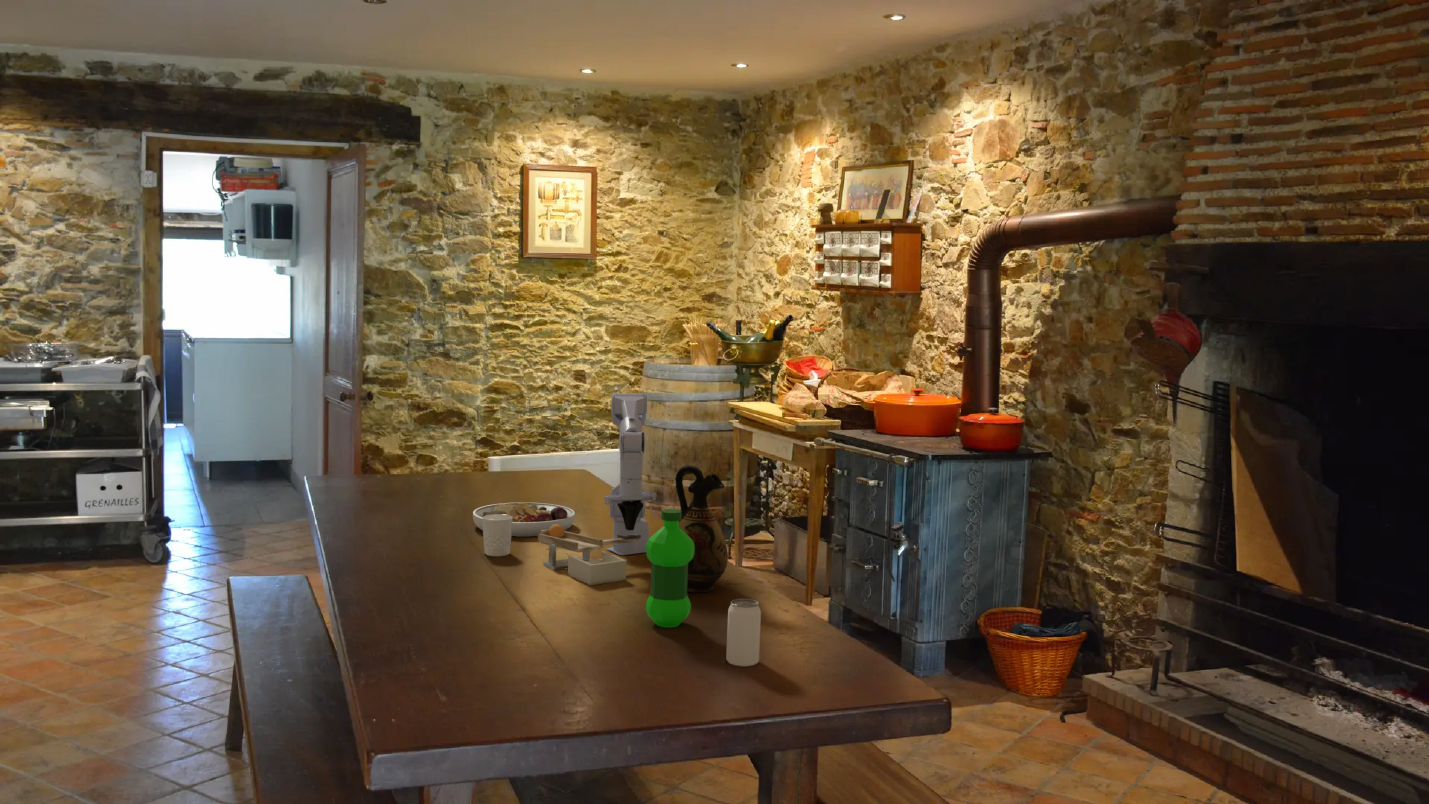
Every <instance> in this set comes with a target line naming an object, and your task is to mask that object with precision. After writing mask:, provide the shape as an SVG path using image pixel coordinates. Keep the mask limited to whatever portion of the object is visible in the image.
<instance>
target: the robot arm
mask: <svg viewBox="0 0 1429 804" xmlns="http://www.w3.org/2000/svg"><path fill="white" fill-rule="evenodd" d="M610 404H611V406H610V407H611V410H610V413H611V421H612V425H614V426H616V427H618V430H619V441H618V443H619V445H618V446H619V447H618V450H619V463H620V464H619V466H620V467H619V484H617V485H616V486H614V487H613V488H612V489H611V490H610V492H609V495H605V496H604V501H603V503H604V504H605V505H608V506H609V507H608V509H609V510H608V515H609V518H611V519H613V530H612V531H613V534H612V535H613V536H612V539H617V535H618V534H627V533H634V534H639V535H641V538H639V541H636V542H628V543H620V544H612V547H607V548H606V550H607V551H610V552H612V553H615V554H617V555H619V556H628V555H635V554H643V553H646V544H647V542H648V539H649V538H650V527H649V526H650V525H649V523H648V521H647V520H646V519H645V516H646V501H656V500H657V493H656V492H654V491H648V492H646V491H645V490H644V489H643V466H644V464H643V463H644V461H643V460H644V458H643V457H644V455H645V451H646V434H645V431H643V425H645V422H646V418H647V414H648V413H647V412H648V395H647V394H646V393H645V392H643V393H628V392H626V393H625V392H613V393H612V394H611V403H610Z"/></svg>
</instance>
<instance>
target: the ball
mask: <svg viewBox="0 0 1429 804" xmlns="http://www.w3.org/2000/svg"><path fill="white" fill-rule="evenodd" d="M549 535H550V536H552V537H556V538H562V536H563V535H564V529H563V527H562V526H561V525H558V524H555V525H552V526H551V527H550V529H549Z"/></svg>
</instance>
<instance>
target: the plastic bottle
mask: <svg viewBox="0 0 1429 804" xmlns="http://www.w3.org/2000/svg"><path fill="white" fill-rule="evenodd" d="M680 510H681V509H680ZM680 510H679V509H675V508H674V509H673V508H672V509H671V508H669V509H668V508H667V509H662V510H661V513H660V515H661V520H662V521H663V526H662V527H660V529H659V530H657V531H656V532H655V533H653V534H652V536H649V539H648V542H647V544H646V552H645V553H646V558H647V559H648V560H649V561H650V562H651V565H650V566H651V567H650V592H649V593H650V594H649V596H648V598H647V600H646V602H645V611H646V615H647V616H648V617H649V618H650V619H651V620H652V621H653V622H654V623H655V625H657V627H661V628H676V627H679V626H680V624H681V623H683V622H684V621H685V620H686V618H688V616H689V615H690V613H691V610H692V603H691V600H690V599H689V596H688V591H687V580H688V563H689V562H690V561H691V559H692V558H693V556H694V551H695V546H694V543H693V540H692V539H691V538H690V537H689V536H688V535H687V534H686V533H685V532H684V531H683V530H682V529H680V528H679V527H678V526H679V521H680V520H681V512H682V511H680Z"/></svg>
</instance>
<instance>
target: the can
mask: <svg viewBox="0 0 1429 804" xmlns="http://www.w3.org/2000/svg"><path fill="white" fill-rule="evenodd" d="M759 605H760V602H759V601H757V600H755V599H749V598H736V599H733V600H731V601H730V605H729V607H728V609H727V626H726V627H727V631H726V655H725V656H726V657H725V659H726V661H727V662H728V664H729V665H731V666H735V667H740V668H747V667H748V668H749V667H753V666H756V665H757V664H758V663H759V661H760V642H761V638H760V637H761V624H762V623H761V621H762V620H761V618H762V615H761V614H762V611H761V608H760V606H759Z"/></svg>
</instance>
